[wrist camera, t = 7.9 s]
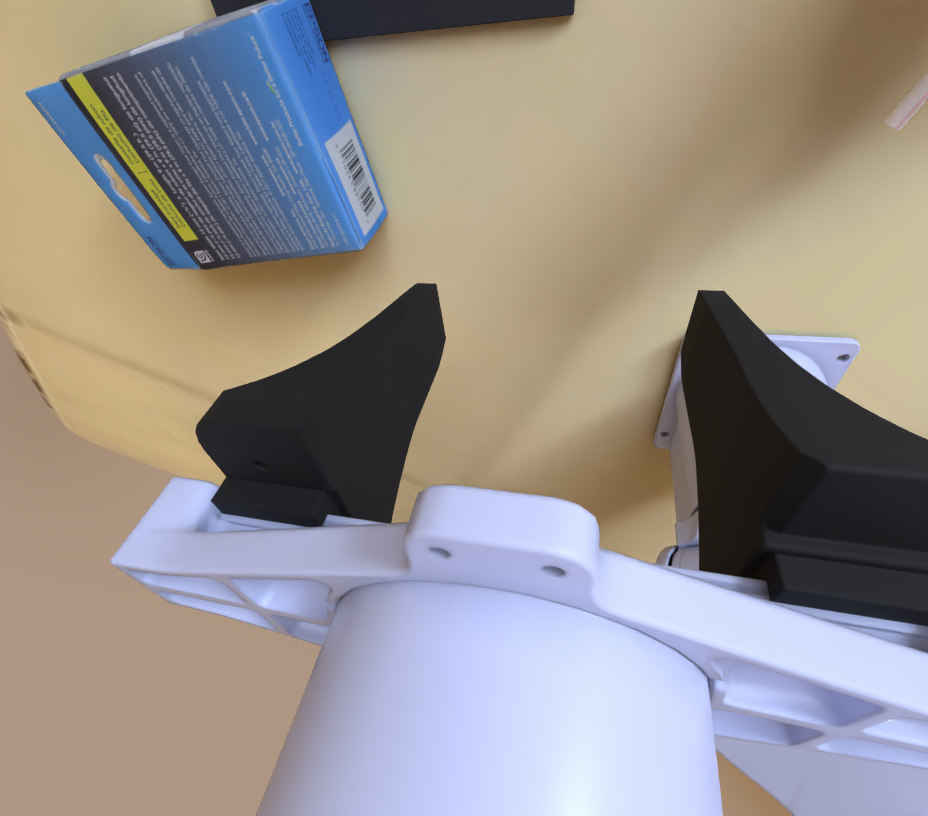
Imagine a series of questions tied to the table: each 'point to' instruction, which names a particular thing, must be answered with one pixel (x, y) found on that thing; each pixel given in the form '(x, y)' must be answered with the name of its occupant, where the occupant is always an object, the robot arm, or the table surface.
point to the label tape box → (225, 140)
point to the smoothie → (909, 104)
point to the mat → (412, 14)
